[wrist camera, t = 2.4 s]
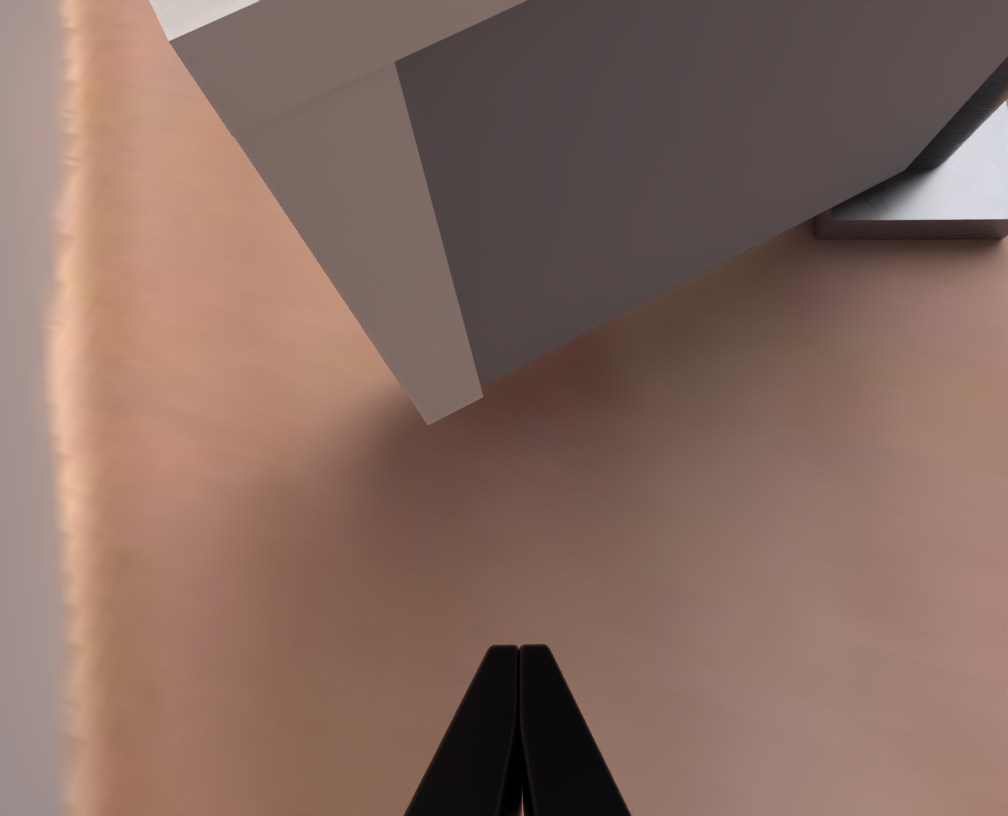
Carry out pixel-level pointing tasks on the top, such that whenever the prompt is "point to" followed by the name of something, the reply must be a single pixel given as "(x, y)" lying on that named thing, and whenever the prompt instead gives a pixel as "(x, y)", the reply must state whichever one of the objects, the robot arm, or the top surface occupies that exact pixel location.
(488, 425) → the top surface
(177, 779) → the top surface
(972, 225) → the post
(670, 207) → the grey flat upright panel
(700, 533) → the top surface
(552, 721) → the robot arm
